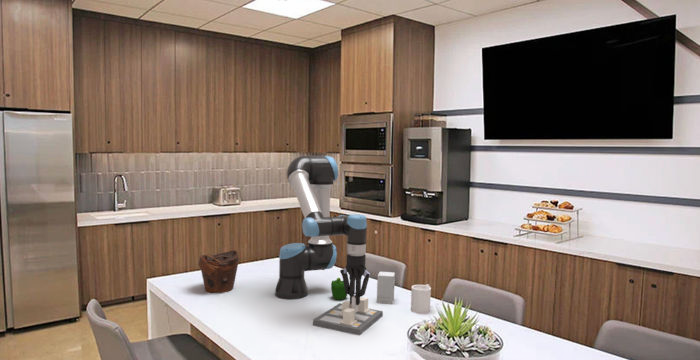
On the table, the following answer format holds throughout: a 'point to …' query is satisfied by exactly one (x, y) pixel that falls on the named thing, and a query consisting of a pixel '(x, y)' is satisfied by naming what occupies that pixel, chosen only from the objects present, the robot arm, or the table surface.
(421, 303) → the cup
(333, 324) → the switch bank
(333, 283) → the bell pepper
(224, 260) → the chocolate chip muffin
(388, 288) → the supplement box
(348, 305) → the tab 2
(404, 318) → the table surface
